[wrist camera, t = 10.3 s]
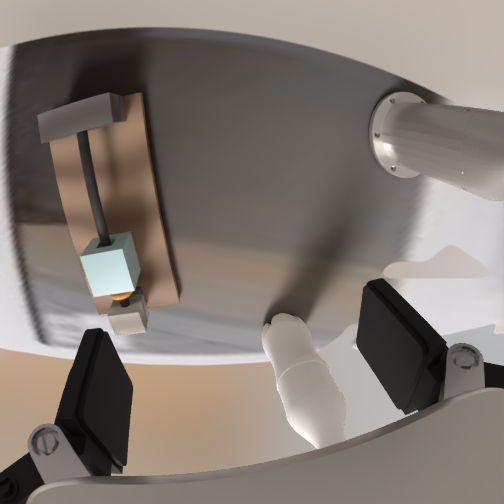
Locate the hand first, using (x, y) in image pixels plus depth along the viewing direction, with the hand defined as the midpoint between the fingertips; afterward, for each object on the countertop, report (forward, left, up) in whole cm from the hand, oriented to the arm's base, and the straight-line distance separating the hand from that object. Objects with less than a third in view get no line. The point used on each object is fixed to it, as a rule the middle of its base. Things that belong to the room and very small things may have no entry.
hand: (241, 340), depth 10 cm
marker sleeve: (+12, +6, -25) cm, 29 cm away
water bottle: (-8, +24, -28) cm, 38 cm away
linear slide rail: (+12, +2, -28) cm, 31 cm away
